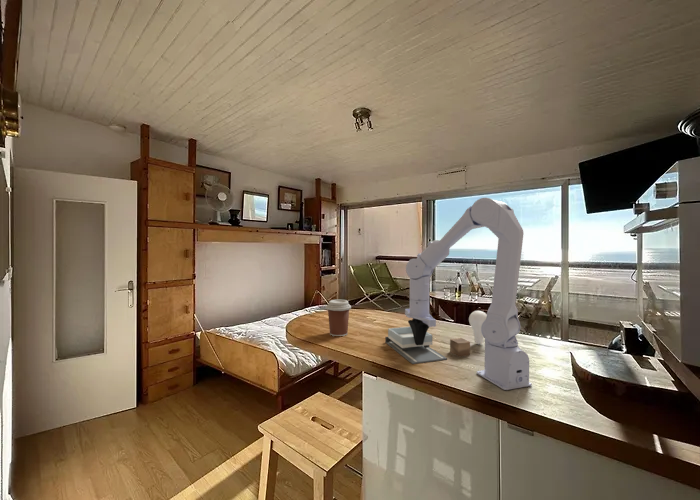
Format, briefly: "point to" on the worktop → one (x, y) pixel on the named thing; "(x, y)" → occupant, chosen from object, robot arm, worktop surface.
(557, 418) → the worktop surface
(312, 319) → the worktop surface
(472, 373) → the worktop surface
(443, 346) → the worktop surface
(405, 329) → the white shallow tray
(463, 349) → the block
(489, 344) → the robot arm
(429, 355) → the track
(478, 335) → the lightbulb
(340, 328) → the coffee cup
